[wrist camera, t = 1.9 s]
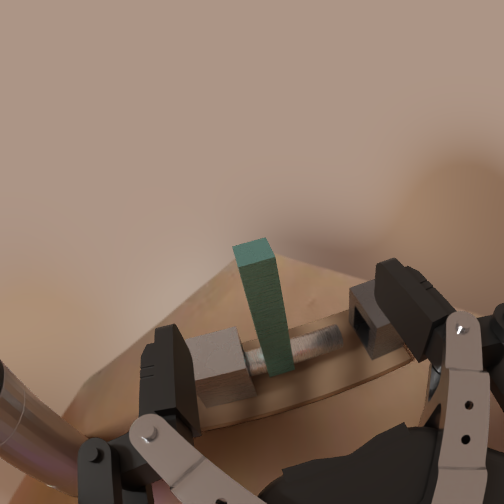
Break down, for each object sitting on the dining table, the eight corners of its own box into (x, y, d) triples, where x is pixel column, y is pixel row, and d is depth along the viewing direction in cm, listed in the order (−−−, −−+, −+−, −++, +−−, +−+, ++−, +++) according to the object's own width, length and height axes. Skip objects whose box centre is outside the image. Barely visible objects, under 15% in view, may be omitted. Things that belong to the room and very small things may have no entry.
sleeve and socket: (206, 411, 31) (188, 385, 28) (200, 365, 37) (185, 336, 34) (403, 346, 33) (411, 313, 30) (377, 310, 39) (381, 276, 35)
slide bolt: (186, 397, 32) (121, 299, 23) (184, 376, 35) (126, 276, 26) (343, 352, 33) (344, 236, 25) (333, 334, 36) (328, 220, 27)
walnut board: (199, 431, 30) (196, 428, 29) (191, 360, 39) (188, 356, 39) (409, 362, 32) (410, 358, 31) (370, 306, 41) (371, 301, 40)
